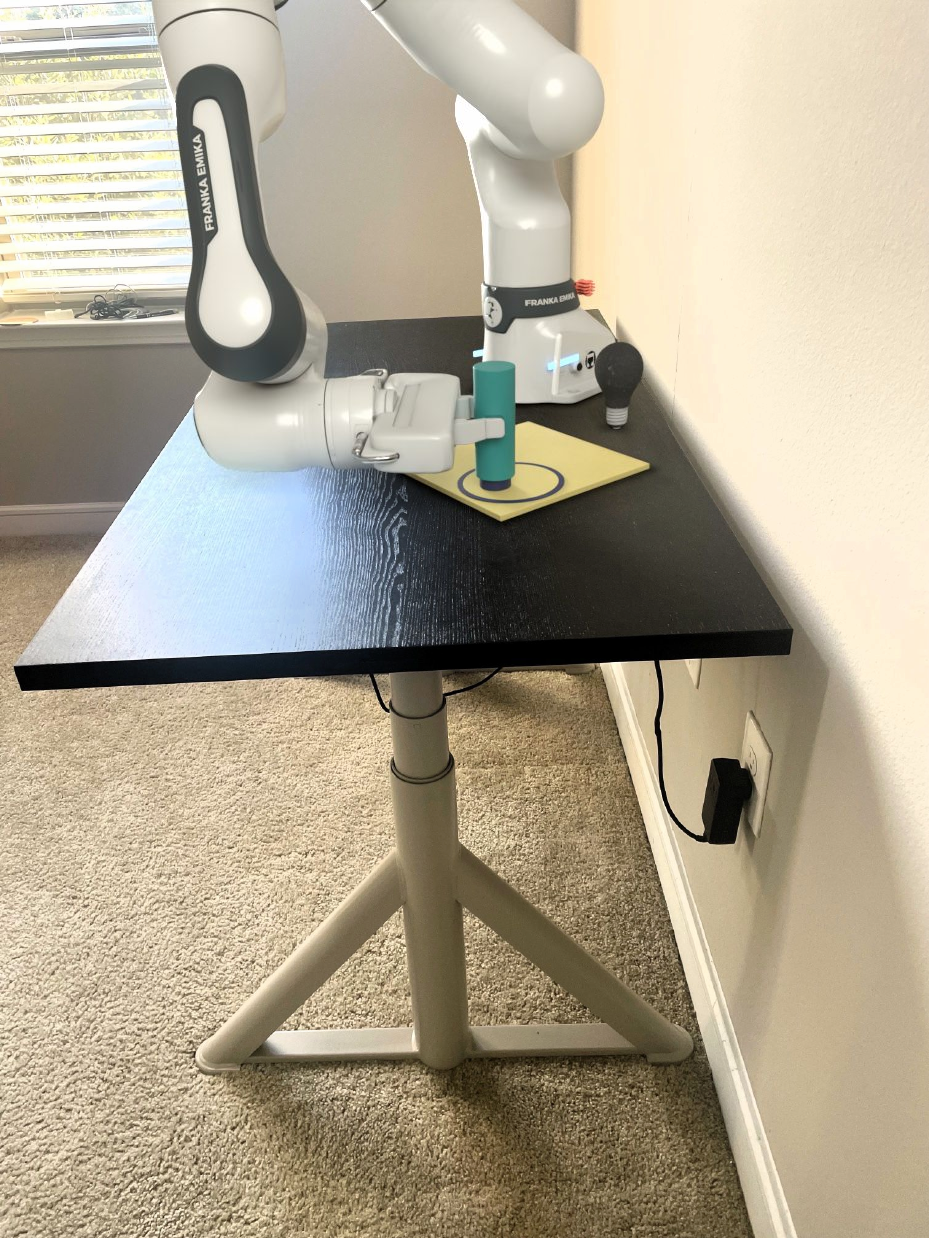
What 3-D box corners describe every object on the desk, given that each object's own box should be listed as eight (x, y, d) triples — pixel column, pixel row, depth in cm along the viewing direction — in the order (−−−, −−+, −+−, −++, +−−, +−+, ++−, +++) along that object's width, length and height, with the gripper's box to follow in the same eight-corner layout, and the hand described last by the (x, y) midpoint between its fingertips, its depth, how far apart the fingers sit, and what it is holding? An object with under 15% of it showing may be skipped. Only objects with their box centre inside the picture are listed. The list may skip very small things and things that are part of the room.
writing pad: (528, 425, 105) (528, 420, 105) (649, 468, 91) (649, 462, 91) (389, 466, 96) (389, 460, 95) (500, 521, 81) (500, 514, 81)
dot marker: (498, 475, 90) (497, 358, 84) (523, 486, 87) (524, 366, 81) (467, 484, 88) (464, 365, 82) (491, 496, 85) (490, 373, 79)
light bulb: (590, 421, 106) (592, 337, 100) (636, 419, 105) (641, 335, 100) (595, 436, 101) (597, 349, 96) (643, 434, 100) (648, 347, 95)
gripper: (343, 425, 74) (503, 418, 73) (372, 364, 92) (502, 358, 91) (352, 494, 77) (506, 488, 76) (379, 422, 95) (504, 417, 94)
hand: (504, 417), depth 84 cm, fingers closed on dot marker, 4 cm apart
